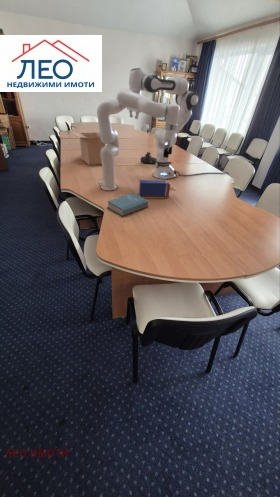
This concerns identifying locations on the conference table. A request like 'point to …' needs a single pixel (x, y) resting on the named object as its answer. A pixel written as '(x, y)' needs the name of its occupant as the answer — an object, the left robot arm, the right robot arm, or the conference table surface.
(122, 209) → the book
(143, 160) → the laser sight
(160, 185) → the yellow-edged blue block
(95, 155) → the box
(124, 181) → the conference table surface
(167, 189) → the drawer
